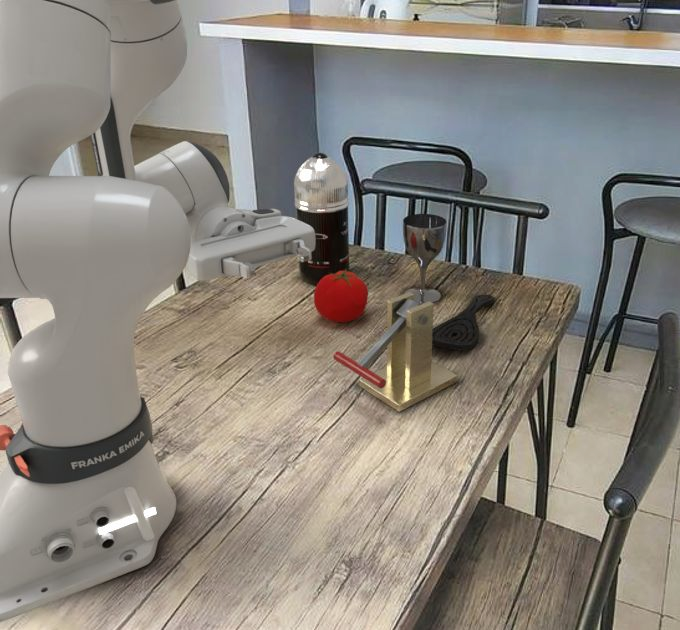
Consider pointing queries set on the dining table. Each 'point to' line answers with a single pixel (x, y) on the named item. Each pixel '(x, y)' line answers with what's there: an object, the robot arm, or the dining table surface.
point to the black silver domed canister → (323, 215)
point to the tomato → (341, 296)
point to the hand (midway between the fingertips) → (280, 264)
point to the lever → (376, 349)
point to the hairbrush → (461, 326)
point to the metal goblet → (424, 248)
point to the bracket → (410, 359)
